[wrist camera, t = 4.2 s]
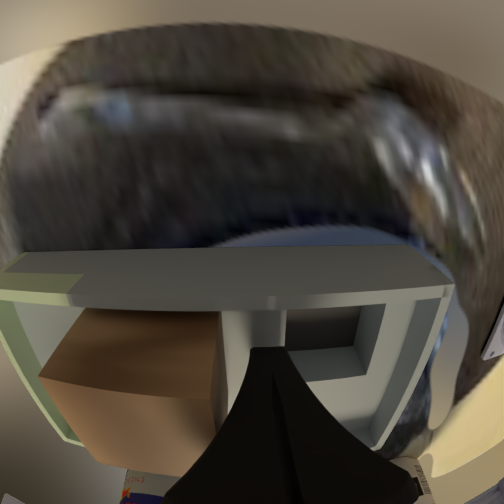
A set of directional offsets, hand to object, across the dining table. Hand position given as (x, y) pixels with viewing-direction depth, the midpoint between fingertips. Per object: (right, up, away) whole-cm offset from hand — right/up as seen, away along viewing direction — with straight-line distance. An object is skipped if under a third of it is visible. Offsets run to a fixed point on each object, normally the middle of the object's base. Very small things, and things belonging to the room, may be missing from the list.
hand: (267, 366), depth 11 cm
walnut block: (-4, 0, +1) cm, 4 cm away
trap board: (-3, -1, +4) cm, 5 cm away
